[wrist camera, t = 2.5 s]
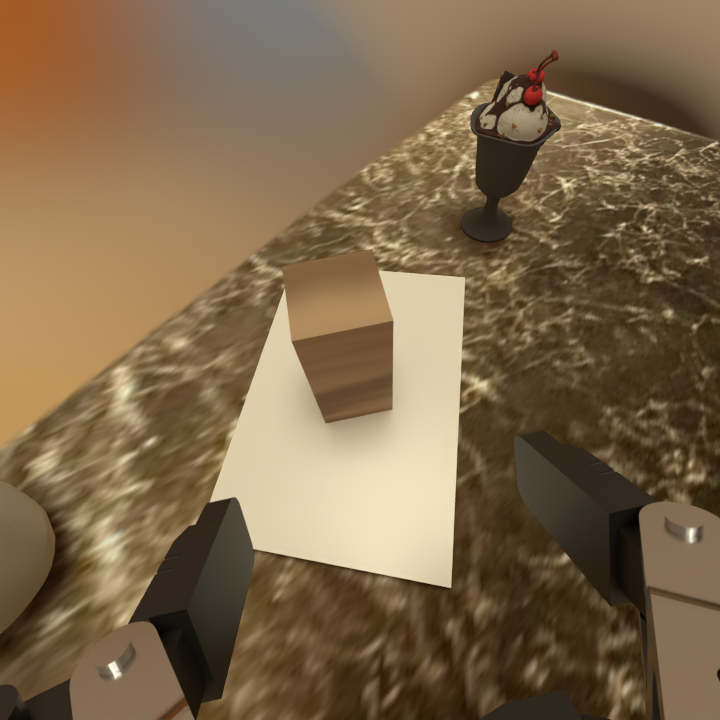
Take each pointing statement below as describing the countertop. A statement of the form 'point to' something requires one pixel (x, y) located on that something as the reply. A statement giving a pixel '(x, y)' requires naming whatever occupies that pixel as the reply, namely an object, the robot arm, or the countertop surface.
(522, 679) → the countertop surface
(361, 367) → the walnut block
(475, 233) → the sundae
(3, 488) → the glass bottle
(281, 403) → the cream sheet of paper
